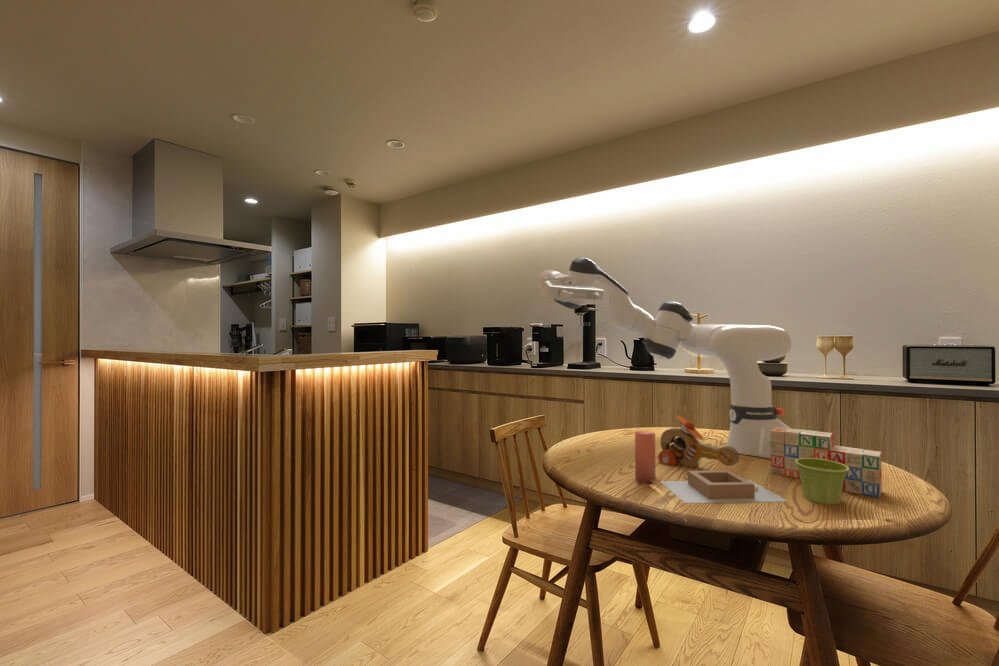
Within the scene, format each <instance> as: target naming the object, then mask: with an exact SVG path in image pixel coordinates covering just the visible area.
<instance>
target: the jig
mask: <svg viewBox="0 0 999 666" xmlns="http://www.w3.org/2000/svg"><path fill="white" fill-rule="evenodd" d="M659 482H660V483H661V484H662V485H663V486H664V487H665V488H667V489H668V490H669V491H670V492H671V493H672V494H674V495H675V497H677V498H678V499H679V500H680V501H682V502H683V503H684V504H711V503H713V504H716V503H717V504H718V503H719V504H720V503H723V504H724V503H725V504H726V503H764V502H765V503H768V502H769V503H771V502H772V503H773V502H778V503H780V502H781V503H782V502H788V500H787V499H785V498H783V497H782V496H780V495H778V494H777V493H774V492H772V491H771V490H769V489H767V488H765V487H763V486H762V485H760V484H758V483H756V482H755V481H753V480H750V479H746V478H743V477H742V476H740V475H739V474H737V473H735V472H734V471H731V470H729V469H727V470H726V469H725V470H722V469H721V470H719V469H718V470H688V471H687V480H666V481H665V480H661V481H659ZM755 485H757V486H758V491H755Z"/></svg>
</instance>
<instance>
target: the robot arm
mask: <svg viewBox="0 0 999 666" xmlns="http://www.w3.org/2000/svg"><path fill="white" fill-rule="evenodd" d="M595 281H597V283H598V284H600V285H602V286H603V287H604V288H605V289H606V291H607V294H608V295H607V296H608V297H607V299H608V300H607V306H606V317H607V319H608V322H609V323H610V325H611V326H612V327H613V328H616V329H617V330H620V331H621V332H624V333H626V334H629V335H633V336H637V337H642V338H644V340H642V344H644V348H645V349H646V351H647V353H649V354H650V356H652V357H654V358H656V359H658V360H671V359H672V358H673V357H674V356H675V355H676V353H677V348H678V347H679V345H680V344H681V345H682V346H683V348H684V349H685V350H687V351H689V352H691V353H694V354H698V355H700V356H701V355H702V356H709V357H716V358H717V359H718V360H720V361H721V362H722V364H723V365H724V367H725V369H726V371H727V374H728V378H729V384H730V403H729V422H730V425H729V433H728V437H727V442H726V445H725V446H731V447H733V448H734V449H736V451H737V452H738V454H739V455H746V456H747V455H748V456H753V457H760V458H764V459H771V445H770V442H771V433H770V431H771V430H772V429H774V428H776V427H783V428H791V427H790V426H788V425H787V424H786V423H784V422H783V421H781V420H780V419H779V418H778V415H780V416H784V415H785V413H786V411H785V409H784V408H781V407H774V406H773V404H772V381H771V380H770V378H769V377H768V376H766V375H765V374H763V373H762V371H761V370H760V367H759V364H758V361H772V360H776V359H780V358H783V357H785V356H786V355H787V354H789V353H790V350H791V348H792V340H791V336H790V334H789V333H788V331H786V330H785V329H784V328H781V327H777V326H772V325H768V324H767V325H764V324H763V325H761V324H760V325H759V324H719V323H718V324H715V323H713V324H712V323H711V324H710V323H702V324H701V323H699V324H695V323H693V322H692V321H693V320H694V318H693V316H691V312H690V311H689V309H688V308H687V307H686V306H685V305H683V304H682V303H679V302H676V301H665V302H663V303H662V304H661V305H660V306H659V309H658V313H657V315H656V317H655V318H654V316H653V315H651V313H649V312H648V311H647V310H645V309H643V308H642V307H641V306H638V305H637V304H635V303H633V301H632V300H631V299H630V292H629V291H628V289H626V288H625V286H623V285H622V284H621V283H620V282H618V281H617V280H616V279H614V278H613V277H612V276H611V275H609V274H608V273H607V272H605V271H604V270H603V269H602V268H601V267H600V266H598V264H596V262H594V261H593V260H592V259H590V258H588V257H583V256H580V257H577V258H575V259H574V260H572V261H571V263H570V266H569V269H568V272H567V274H566V273H562V272H560V271H557V270H553V269H546V270H543V271H542V272H541V273H540V274H539V275H538V277H537V281H536V282H537V287H538V288H539V290H540V294H539V295H540V297H542V298H546V299H547V298H548V299H553V300H554V302H555V303H557V304H560V305H561V306H563V307H565V308H568V309H571V310H575V309H579V308H581V307H582V306H583V305H584V303H585V301H597V302H598V301H602V300H603V299H604V296H605V291H604V289H602V288H599V287H596V286H593V284H594V283H595ZM691 322H692V323H691Z"/></svg>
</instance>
